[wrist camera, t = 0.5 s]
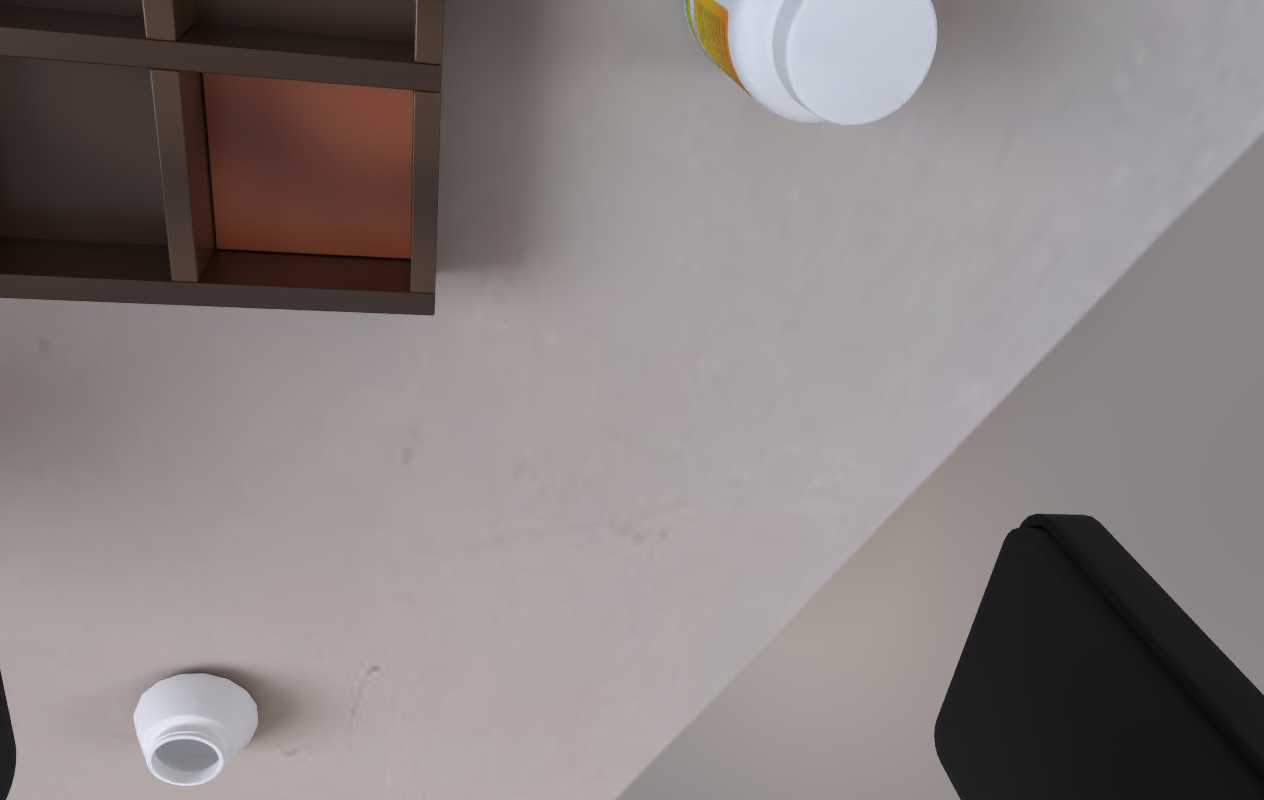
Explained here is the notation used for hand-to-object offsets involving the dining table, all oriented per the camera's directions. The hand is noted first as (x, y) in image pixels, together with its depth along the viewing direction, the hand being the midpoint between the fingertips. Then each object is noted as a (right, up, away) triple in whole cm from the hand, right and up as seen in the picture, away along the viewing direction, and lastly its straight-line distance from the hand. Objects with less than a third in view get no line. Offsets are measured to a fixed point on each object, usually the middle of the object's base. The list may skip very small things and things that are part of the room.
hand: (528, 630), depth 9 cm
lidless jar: (-18, -11, +36) cm, 42 cm away
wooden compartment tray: (-13, +14, +22) cm, 29 cm away
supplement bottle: (+5, +16, +24) cm, 30 cm away
